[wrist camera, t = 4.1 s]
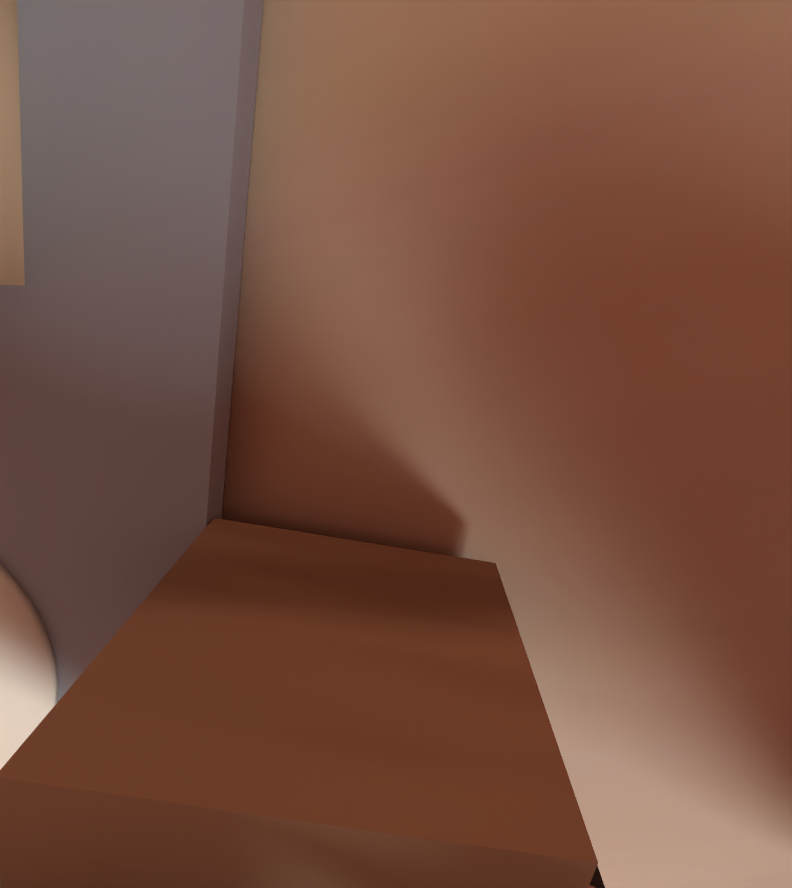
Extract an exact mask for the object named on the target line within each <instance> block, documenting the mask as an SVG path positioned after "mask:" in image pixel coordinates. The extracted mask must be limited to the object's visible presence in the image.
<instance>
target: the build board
mask: <svg viewBox="0 0 792 888" xmlns="http://www.w3.org/2000/svg"><path fill="white" fill-rule="evenodd" d="M263 1H264V0H17V19H18V56H19V93H20V129H21V166H22V203H23V239H24V276H25V286H22V285H0V564H1V565H2V566H3V567H4V568H5V569H6V570H7V571H8V572H9V573H10V574H11V576H12V577H13V578H14V579H15V580H16V581H17V582H18V584H19V585H20V586H21V588H22V589H23V591H24V592H25V593H26V595H27V596H28V597H29V599H30V600H31V602H32V603H33V605H34V607H35V609H36V610H37V612H38V614H39V616H40V618H41V619H42V621H43V623H44V626H45V628H46V631H47V633H48V636H49V638H50V641H51V643H52V647H53V651H54V656H55V660H56V664H57V675H58V695H57V702H58V701H59V700H60V699H61V698H62V696H63V695H64V694H65V693H66V692H67V691H68V689H69V688H70V687H71V686H72V685H73V683H74V682H75V681H76V680H77V679H78V678H79V676H80V675H81V674H82V673H83V672H84V671H85V669H86V668H87V667H88V666H89V665H90V663H91V662H92V661H93V660H94V659H95V658H96V656H97V655H98V654H99V653H100V652H101V650H102V649H103V648H104V647H105V646H106V645H107V643H108V642H109V641H110V640H111V639H112V637H113V636H114V635H115V634H116V633H117V632H118V630H119V629H120V628H121V627H122V626H123V624H124V623H125V622H126V621H127V620H128V619H129V617H130V616H131V615H132V614H133V613H134V611H135V610H136V609H137V608H138V607H139V606H140V604H141V603H142V602H143V601H144V600H145V598H146V597H147V596H148V595H149V594H150V593H151V591H152V590H153V589H154V588H155V587H156V586H157V584H158V583H159V582H160V581H161V580H162V578H163V577H164V576H165V575H166V574H167V573H168V571H169V570H170V569H171V568H172V567H173V565H174V564H175V563H176V562H177V561H178V560H179V558H180V557H181V556H182V555H183V554H184V552H185V551H186V550H187V549H188V548H189V547H190V545H191V544H192V543H193V542H194V541H195V539H196V538H197V537H198V536H199V535H200V534H201V532H202V531H203V530H204V529H205V528H206V526H207V525H208V524H209V523H210V522H211V521H212V519H213V518H218V519H221V518H222V506H223V493H224V481H225V469H226V457H227V444H228V432H229V420H230V407H231V395H232V383H233V370H234V358H235V346H236V333H237V321H238V309H239V296H240V284H241V272H242V260H243V247H244V235H245V223H246V210H247V198H248V186H249V173H250V161H251V149H252V136H253V124H254V112H255V99H256V87H257V75H258V63H259V50H260V38H261V26H262V13H263Z"/></svg>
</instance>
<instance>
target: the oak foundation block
mask: <svg viewBox="0 0 792 888" xmlns="http://www.w3.org/2000/svg"><path fill="white" fill-rule="evenodd" d="M0 285H22V286H25V276H24V239H23V203H22V166H21V129H20V93H19V56H18V19H17V0H0Z"/></svg>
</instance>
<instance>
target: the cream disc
mask: <svg viewBox="0 0 792 888" xmlns="http://www.w3.org/2000/svg"><path fill="white" fill-rule="evenodd" d="M57 695H58V675H57V664H56V660H55V656H54V651H53V647H52V643H51V641H50V638H49V636H48V633H47V631H46V628H45V626H44V623H43V621H42V619H41V618H40V616H39V614H38V612H37V610H36V609H35V607H34V605H33V603H32V602H31V600H30V599H29V597H28V596H27V595H26V593H25V592H24V591H23V589H22V588H21V586H20V585H19V584H18V582H17V581H16V580H15V579H14V578H13V577H12V576H11V574H10V573H9V572H8V571H7V570H6V569H5V568H4V567H3V566H2V565H1V564H0V770H1V769H2V767H3V766H4V765H5V764H6V763H7V761H8V760H9V759H10V758H11V757H12V756H13V754H14V753H15V752H16V751H17V750H18V748H19V747H20V746H21V745H22V744H23V743H24V741H25V740H26V739H27V738H28V737H29V735H30V734H31V733H32V732H33V731H34V730H35V728H36V727H37V726H38V725H39V724H40V722H41V721H42V720H43V719H44V718H45V717H46V715H47V714H48V713H49V712H50V711H51V709H52V708H53V707H54V706H55V705H56V704H57Z"/></svg>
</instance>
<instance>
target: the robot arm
mask: <svg viewBox="0 0 792 888" xmlns="http://www.w3.org/2000/svg"><path fill="white" fill-rule="evenodd" d="M0 888H1V878H0ZM588 888H605V886H604V884H603V881H602V878H601V875H600V872H599V869H598V866H597V867H596V869H595V872H594V874H593V877H592V880H591V882H590V885H589V887H588Z"/></svg>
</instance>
